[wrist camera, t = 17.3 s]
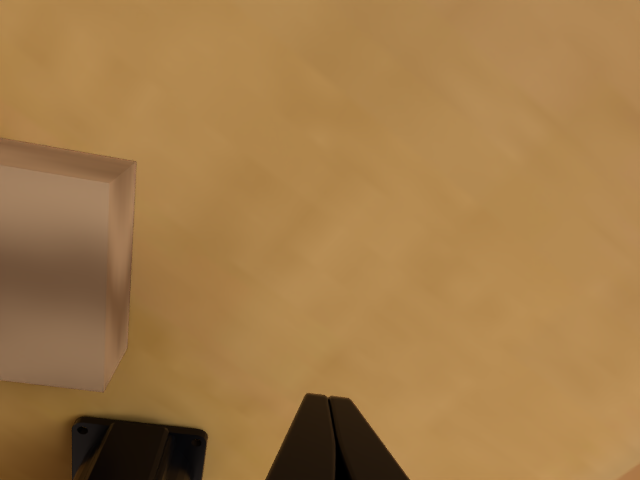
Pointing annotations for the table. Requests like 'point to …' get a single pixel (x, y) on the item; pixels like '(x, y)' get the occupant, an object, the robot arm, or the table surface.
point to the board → (64, 264)
